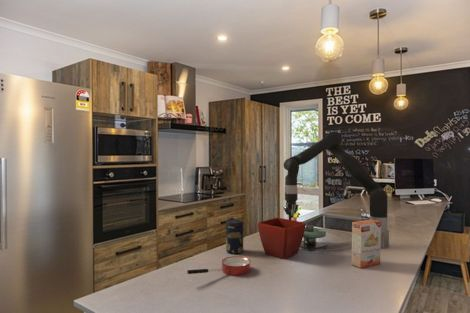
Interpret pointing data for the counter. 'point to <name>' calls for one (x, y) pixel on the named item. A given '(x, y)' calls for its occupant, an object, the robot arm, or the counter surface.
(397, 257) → the counter surface
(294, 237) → the plant pot
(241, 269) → the frying pan
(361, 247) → the cracker box
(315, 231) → the handwheel
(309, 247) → the pedestal
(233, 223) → the canister
